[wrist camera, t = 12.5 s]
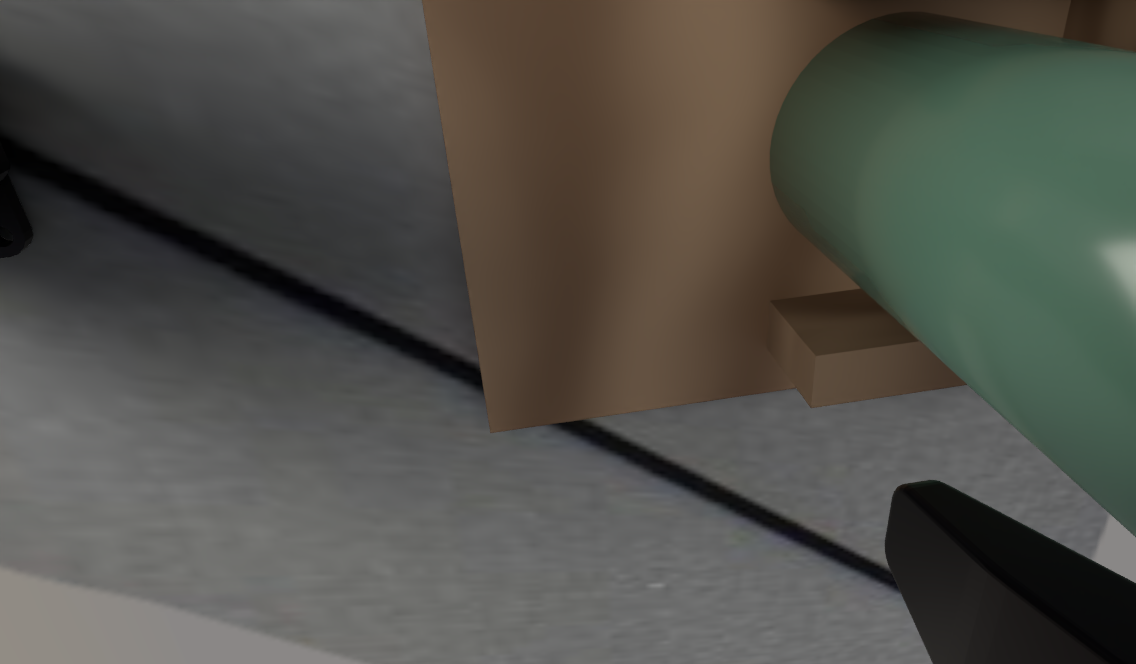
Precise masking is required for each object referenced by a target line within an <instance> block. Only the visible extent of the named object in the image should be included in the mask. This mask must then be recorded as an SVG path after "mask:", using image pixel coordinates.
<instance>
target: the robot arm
mask: <svg viewBox="0 0 1136 664" xmlns="http://www.w3.org/2000/svg"><path fill="white" fill-rule="evenodd" d="M9 169H10V163H9V161H8V159H7V156H6V154H5V152H4V150H3V147H2V145H1V143H0V227H4V228H5V229H7V230H9V232H10V233H11V234H12V236H13V241H11V240H6V239H4V238H3V237H1V236H0V258H5V257H11V256H14V255H17V254H19V253H20V252H21V251H23V250H24V249H25V248H26V247H27V246H28V245H29V244H31V242H32V239H33V232H32V227H31V225H30V223H29V221H28V218H27V216H26V214H25V212H24V209H23V207H22V205H21V203H20V200H19V198H18V196H17V194H16V191H15V189H14V187H13V185H12V183H11V180H10V178H9V176H8V174H7V173H8V171H9ZM885 554H886V559H887V562H888V565H889V568H890V570H891V572H892V574H893V577H894V579H895V581H896V583H897V585H898V588H899V590H900V592H901V594H902V596H903V599H904V601H905V603H906V605H907V607H908V610H909V612H910V614H911V616H912V618H913V621H914V623H915V625H916V627H917V629H918V632H919V634H920V636H921V638H922V640H923V643H924V645H925V647H926V649H927V651H928V654H929V656H930V658H931V660H932V662H933V664H1136V583H1134V582H1132V581H1130V580H1128V579H1127V578H1125V577H1123V576H1121V575H1119V574H1117V573H1115V572H1113V571H1111V570H1109V569H1108V568H1106V567H1104V566H1102V565H1100V564H1098V563H1096V562H1094V561H1092V560H1090V559H1088V558H1087V557H1085V556H1083V555H1081V554H1079V553H1077V552H1075V551H1073V550H1071V549H1069V548H1067V547H1066V546H1064V545H1062V544H1060V543H1058V542H1056V541H1054V540H1052V539H1050V538H1048V537H1046V536H1044V535H1043V534H1041V533H1039V532H1037V531H1035V530H1033V529H1031V528H1029V527H1027V526H1025V525H1023V524H1022V523H1020V522H1018V521H1016V520H1014V519H1012V518H1010V517H1008V516H1006V515H1004V514H1002V513H1001V512H999V511H997V510H995V509H993V508H991V507H989V506H987V505H985V504H983V503H981V502H980V501H978V500H976V499H974V498H972V497H970V496H968V495H966V494H964V493H962V492H960V491H959V490H957V489H955V488H953V487H951V486H949V485H947V484H945V483H943V482H940V481H937V480H927V481H921V482H914V483H908V484H903V485H900V486H898V487H897V488H896V490H895V491H894V493H893V497H892V502H891V508H890V514H889V520H888V526H887V532H886V538H885Z"/></svg>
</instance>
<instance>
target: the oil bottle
mask: <svg viewBox="0 0 1136 664" xmlns="http://www.w3.org/2000/svg"><path fill="white" fill-rule="evenodd" d="M770 174H771V182H772V186H773V190H774V193H775V197H776V199H777V201H778V203H779V206H780V208H781V210H782V211H783V213H784V215H785V216H786V218H787V219H788V221H789V222H790V223H791V224H792V225H793V226H794V227H795V229H796V230H797V231H798V232H800V233H801V234H802V235H803V236H804V237H805V238H806V239H807V240H808V241H809V242H811V243H812V244H813V245H814V246H815V247H816V248H817V249H818V250H819V251H820V252H822V253H823V254H824V255H825V256H826V257H827V258H828V259H829V260H830V261H832V262H833V263H834V264H835V265H836V266H837V267H838V268H839V269H840V270H841V271H843V272H844V273H845V274H846V275H847V276H848V277H849V278H850V279H851V280H852V281H854V282H855V283H856V284H857V285H858V286H859V287H860V288H861V289H862V290H864V291H865V292H866V293H867V294H868V295H869V296H870V297H871V298H872V299H873V300H875V301H876V302H877V303H878V304H879V305H880V306H881V307H882V308H883V309H885V310H886V311H887V312H888V313H889V314H890V315H891V316H892V317H893V318H894V319H896V320H897V321H898V322H899V323H900V324H901V325H902V326H903V327H904V328H905V329H907V330H908V331H909V332H910V333H911V334H912V335H913V336H914V337H915V338H917V339H918V340H919V341H920V342H921V343H922V344H923V345H924V346H925V347H926V348H928V349H929V350H930V351H931V352H932V353H933V354H934V355H935V356H936V357H937V358H939V359H940V360H941V361H942V362H943V363H944V364H945V365H946V366H947V367H949V368H950V369H951V370H952V371H953V372H954V373H955V374H956V375H957V376H958V377H960V378H961V379H962V380H963V381H964V382H965V383H966V384H967V385H968V386H969V387H971V388H972V389H973V390H974V391H975V392H976V393H977V394H978V395H979V396H981V397H982V398H983V399H984V400H985V401H986V402H987V403H988V404H989V405H990V406H992V407H993V408H994V409H995V410H996V411H997V412H998V413H999V414H1000V415H1002V416H1003V417H1004V418H1005V419H1006V420H1007V421H1008V422H1009V423H1010V424H1011V425H1013V426H1014V427H1015V428H1016V429H1017V430H1018V431H1019V432H1020V433H1021V434H1022V435H1024V436H1025V437H1026V438H1027V439H1028V440H1029V441H1030V442H1031V443H1032V444H1034V445H1035V446H1036V447H1037V448H1038V449H1039V450H1040V451H1041V452H1042V453H1043V454H1045V455H1046V456H1047V457H1048V458H1049V459H1050V460H1051V461H1052V462H1053V463H1054V464H1056V465H1057V466H1058V467H1059V468H1060V469H1061V470H1062V471H1063V472H1064V473H1066V474H1067V475H1068V476H1069V477H1070V478H1071V479H1072V480H1073V481H1074V482H1075V483H1077V484H1078V485H1079V486H1080V487H1081V488H1082V489H1083V490H1084V491H1085V492H1087V493H1088V494H1089V495H1090V496H1091V497H1092V498H1093V499H1094V500H1095V501H1096V502H1098V503H1099V504H1100V505H1101V506H1102V507H1103V508H1104V509H1105V510H1106V511H1107V512H1109V513H1110V514H1111V515H1112V516H1113V517H1114V518H1115V519H1116V520H1117V521H1119V522H1120V523H1121V524H1122V525H1123V526H1124V527H1125V528H1126V529H1127V530H1128V531H1130V532H1131V533H1132V534H1133V535H1134V536H1135V537H1136V52H1135V51H1130V50H1125V49H1120V48H1114V47H1109V46H1104V45H1098V44H1093V43H1088V42H1083V41H1077V40H1072V39H1067V38H1061V37H1056V36H1051V35H1045V34H1040V33H1035V32H1030V31H1024V30H1019V29H1014V28H1008V27H1003V26H998V25H993V24H987V23H982V22H977V21H971V20H966V19H961V18H956V17H950V16H945V15H940V14H934V13H927V12H899V13H892V14H887V15H884V16H880V17H877V18H873V19H871V20H868V21H866V22H864V23H862V24H859V25H857V26H855V27H853V28H852V29H850V30H848V31H847V32H845V33H843V34H841V35H840V36H839V37H837V38H836V39H835V40H833V41H832V42H831V43H829V44H828V45H827V46H826V47H824V48H823V49H822V50H821V51H820V52H819V53H818V54H817V55H816V56H815V57H814V58H813V59H812V60H811V61H810V63H809V64H808V65H807V66H806V67H805V68H804V70H803V71H802V72H801V73H800V75H799V76H798V78H797V79H796V81H795V82H794V84H793V85H792V87H791V88H790V90H789V92H788V94H787V96H786V98H785V100H784V102H783V103H782V106H781V109H780V111H779V114H778V116H777V119H776V122H775V126H774V130H773V134H772V139H771V147H770Z"/></svg>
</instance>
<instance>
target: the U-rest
mask: <svg viewBox="0 0 1136 664" xmlns="http://www.w3.org/2000/svg"><path fill="white" fill-rule="evenodd" d="M422 3H423V9H424V16H425V22H426V28H427V35H428V41H429V47H430V54H431V60H432V66H433V73H434V79H435V85H436V92H437V98H438V104H439V111H440V117H441V123H442V130H443V136H444V142H445V149H446V155H447V161H448V167H449V174H450V180H451V186H452V193H453V199H454V205H455V212H456V218H457V224H458V231H459V237H460V243H461V250H462V256H463V262H464V269H465V275H466V281H467V288H468V294H469V300H470V307H471V313H472V319H473V325H474V332H475V338H476V344H477V351H478V357H479V363H480V370H481V376H482V382H483V389H484V395H485V401H486V408H487V414H488V420H489V427H490V433H494V432H501V431H508V430H515V429H521V428H528V427H535V426H542V425H549V424H555V423H562V422H569V421H576V420H583V419H589V418H596V417H603V416H610V415H617V414H623V413H630V412H637V411H644V410H651V409H657V408H664V407H671V406H678V405H685V404H691V403H698V402H705V401H712V400H719V399H725V398H732V397H739V396H746V395H753V394H759V393H766V392H773V391H780V390H787V389H793V388H797V390H798V391H799V392H800V394H801V395H802V396H803V398H804V399H805V400H806V402H807V403H808V405H809V406H810V407H811V408H815V407H822V406H828V405H835V404H842V403H848V402H855V401H862V400H868V399H875V398H882V397H888V396H895V395H902V394H909V393H915V392H922V391H929V390H935V389H942V388H949V387H955V386H962V385H967V384H966V383H965V382H964V381H963V380H962V379H961V378H960V377H958V376H957V375H956V374H955V373H954V372H953V371H952V370H951V369H950V368H949V367H947V366H946V365H945V364H944V363H943V362H942V361H941V360H940V359H939V358H937V357H936V356H935V355H934V354H933V353H932V352H931V351H930V350H929V349H928V348H926V347H925V346H924V345H923V344H922V343H921V342H920V341H919V340H918V339H917V338H915V337H914V336H913V335H912V334H911V333H910V332H909V331H908V330H907V329H905V328H904V327H903V326H902V325H901V324H900V323H899V322H898V321H897V320H896V319H894V318H893V317H892V316H891V315H890V314H889V313H888V312H887V311H886V310H885V309H883V308H882V307H881V306H880V305H879V304H878V303H877V302H876V301H875V300H873V299H872V298H871V297H870V296H869V295H868V294H867V293H866V292H865V291H864V290H862V289H861V288H860V287H859V286H858V285H857V284H856V283H855V282H854V281H852V280H851V279H850V278H849V277H848V276H847V275H846V274H845V273H844V272H843V271H841V270H840V269H839V268H838V267H837V266H836V265H835V264H834V263H833V262H832V261H830V260H829V259H828V258H827V257H826V256H825V255H824V254H823V253H822V252H820V251H819V250H818V249H817V248H816V247H815V246H814V245H813V244H812V243H811V242H809V241H808V240H807V239H806V238H805V237H804V236H803V235H802V234H801V233H800V232H798V231H797V230H796V229H795V227H794V226H793V225H792V224H791V223H790V222H789V221H788V219H787V218H786V216H785V215H784V213H783V211H782V210H781V208H780V206H779V203H778V201H777V199H776V197H775V193H774V190H773V186H772V182H771V174H770V147H771V139H772V134H773V130H774V126H775V122H776V119H777V116H778V114H779V111H780V109H781V106H782V103H783V102H784V100H785V98H786V96H787V94H788V92H789V90H790V88H791V87H792V85H793V84H794V82H795V81H796V79H797V78H798V76H799V75H800V73H801V72H802V71H803V70H804V68H805V67H806V66H807V65H808V64H809V63H810V61H811V60H812V59H813V58H814V57H815V56H816V55H817V54H818V53H819V52H820V51H821V50H822V49H823V48H824V47H826V46H827V45H828V44H829V43H831V42H832V41H833V40H835V39H836V38H837V37H839V36H840V35H841V34H843V33H845V32H847V31H848V30H850V29H852V28H853V27H855V26H857V25H859V24H862V23H864V22H866V21H868V20H871V19H873V18H877V17H880V16H884V15H887V14H892V13H899V12H927V13H934V14H940V15H945V16H950V17H956V18H961V19H966V20H971V21H977V22H982V23H987V24H993V25H998V26H1003V27H1008V28H1014V29H1019V30H1024V31H1030V32H1035V33H1040V34H1045V35H1051V36H1056V37H1061V38H1067V39H1072V40H1077V41H1083V42H1088V43H1093V44H1098V45H1104V46H1109V47H1114V48H1120V49H1125V50H1130V51H1135V52H1136V0H422Z"/></svg>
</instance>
